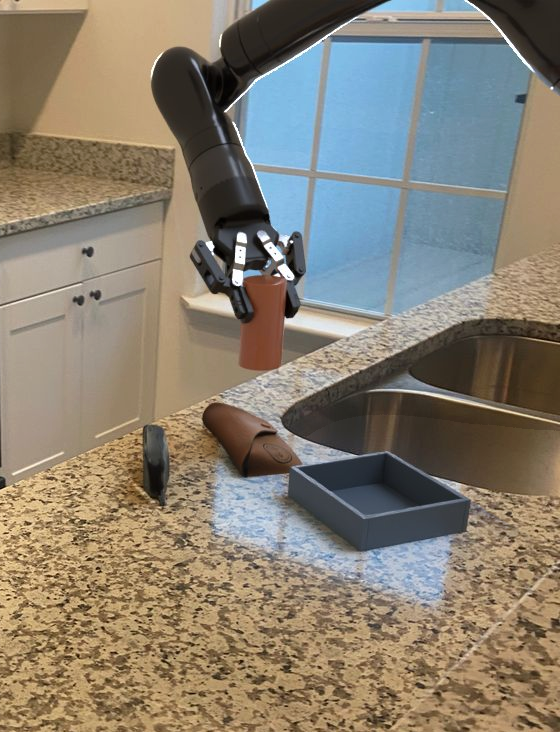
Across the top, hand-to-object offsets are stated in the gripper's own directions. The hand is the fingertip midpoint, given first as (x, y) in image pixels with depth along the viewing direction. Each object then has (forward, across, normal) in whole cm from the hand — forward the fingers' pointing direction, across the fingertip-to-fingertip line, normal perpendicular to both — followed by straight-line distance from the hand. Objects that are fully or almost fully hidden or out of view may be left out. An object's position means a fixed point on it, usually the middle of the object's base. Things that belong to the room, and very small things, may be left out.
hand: (270, 316), depth 117 cm
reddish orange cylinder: (+3, 0, +6) cm, 6 cm away
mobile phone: (+14, -15, +11) cm, 23 cm away
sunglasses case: (+11, 0, +14) cm, 18 cm away
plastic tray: (+26, +2, -2) cm, 26 cm away
